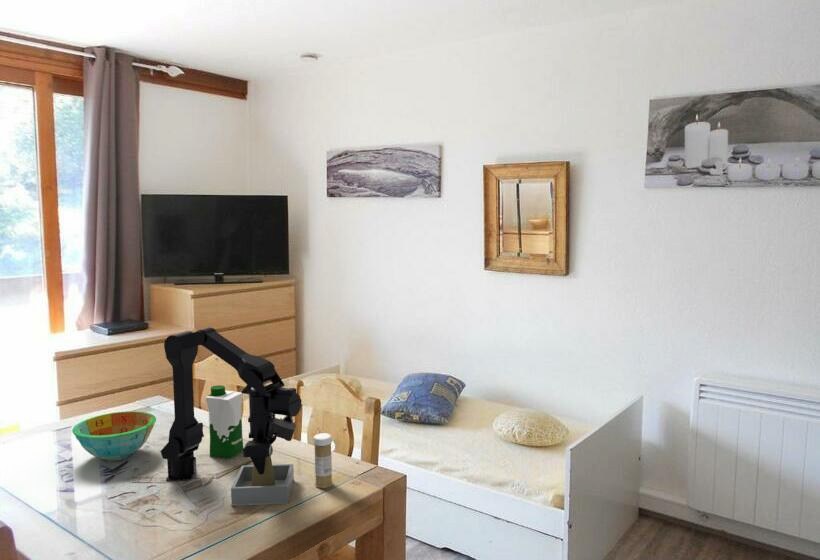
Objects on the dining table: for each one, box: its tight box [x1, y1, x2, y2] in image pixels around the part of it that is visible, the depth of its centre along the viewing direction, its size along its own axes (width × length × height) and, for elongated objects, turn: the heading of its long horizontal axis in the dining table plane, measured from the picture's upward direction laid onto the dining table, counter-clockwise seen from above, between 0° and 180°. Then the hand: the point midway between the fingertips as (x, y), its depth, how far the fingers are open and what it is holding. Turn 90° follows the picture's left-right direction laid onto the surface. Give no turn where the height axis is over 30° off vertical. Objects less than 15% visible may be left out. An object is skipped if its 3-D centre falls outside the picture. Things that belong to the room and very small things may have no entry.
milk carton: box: [204, 384, 244, 460], centre depth 187 cm, size 9×9×20 cm
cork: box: [251, 444, 275, 486], centre depth 162 cm, size 6×6×11 cm
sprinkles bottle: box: [313, 432, 333, 489], centre depth 166 cm, size 5×5×13 cm
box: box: [230, 463, 295, 507], centre depth 162 cm, size 14×14×4 cm
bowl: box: [71, 410, 157, 462], centre depth 186 cm, size 22×22×10 cm
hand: (262, 470), depth 162 cm, fingers closed on cork, 4 cm apart
